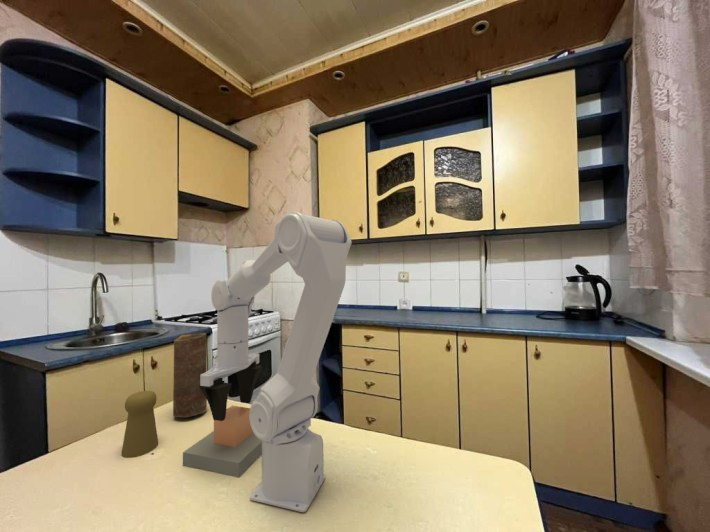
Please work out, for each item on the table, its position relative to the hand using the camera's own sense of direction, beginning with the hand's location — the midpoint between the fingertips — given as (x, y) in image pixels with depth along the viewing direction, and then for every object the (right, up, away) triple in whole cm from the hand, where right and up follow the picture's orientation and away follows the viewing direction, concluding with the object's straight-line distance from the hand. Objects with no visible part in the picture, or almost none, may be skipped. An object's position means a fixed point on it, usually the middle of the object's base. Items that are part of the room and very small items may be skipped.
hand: (233, 410), depth 57 cm
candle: (-17, -9, +15) cm, 25 cm away
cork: (-19, -9, +1) cm, 21 cm away
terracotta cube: (0, -6, 0) cm, 6 cm away
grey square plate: (0, -9, 0) cm, 9 cm away
